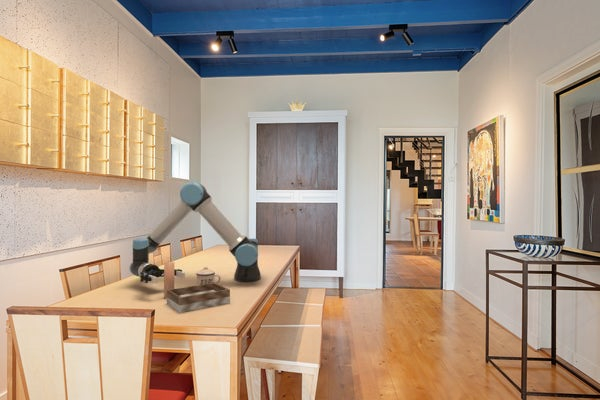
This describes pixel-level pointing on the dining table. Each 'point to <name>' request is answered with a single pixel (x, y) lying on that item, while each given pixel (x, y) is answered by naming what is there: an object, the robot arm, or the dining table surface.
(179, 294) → the box
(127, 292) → the dining table surface
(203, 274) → the teacup with lid
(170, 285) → the peg
